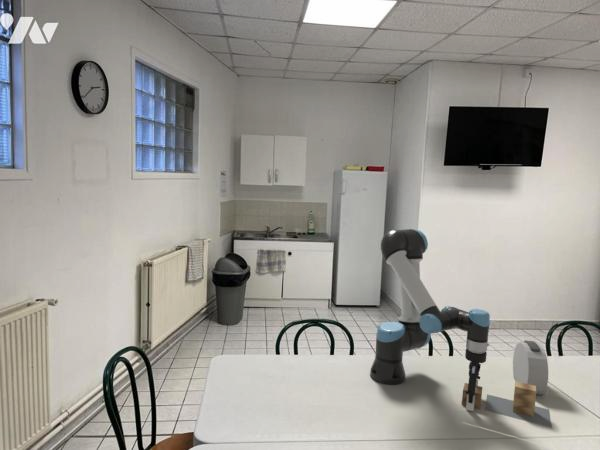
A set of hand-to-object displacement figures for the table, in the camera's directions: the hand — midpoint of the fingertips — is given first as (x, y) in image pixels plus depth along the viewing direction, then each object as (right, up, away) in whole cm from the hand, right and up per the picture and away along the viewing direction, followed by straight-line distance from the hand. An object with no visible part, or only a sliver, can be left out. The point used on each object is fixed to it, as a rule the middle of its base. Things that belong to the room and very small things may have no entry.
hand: (471, 402), depth 166 cm
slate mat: (+16, -2, -4) cm, 17 cm away
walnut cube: (0, -1, 0) cm, 1 cm away
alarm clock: (+31, -1, +17) cm, 35 cm away
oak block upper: (+18, +3, -5) cm, 19 cm away
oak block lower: (+18, -2, -5) cm, 18 cm away
